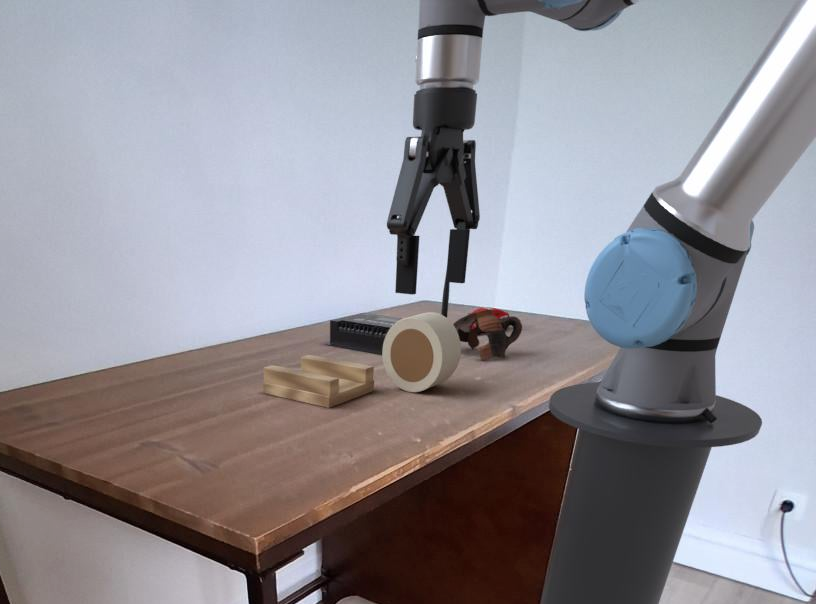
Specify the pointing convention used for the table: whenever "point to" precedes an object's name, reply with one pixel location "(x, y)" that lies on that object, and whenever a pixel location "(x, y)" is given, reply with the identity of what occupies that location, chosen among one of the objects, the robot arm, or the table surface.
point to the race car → (497, 313)
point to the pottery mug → (488, 332)
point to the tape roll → (421, 351)
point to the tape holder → (319, 381)
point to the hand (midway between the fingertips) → (431, 288)
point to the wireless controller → (369, 328)
